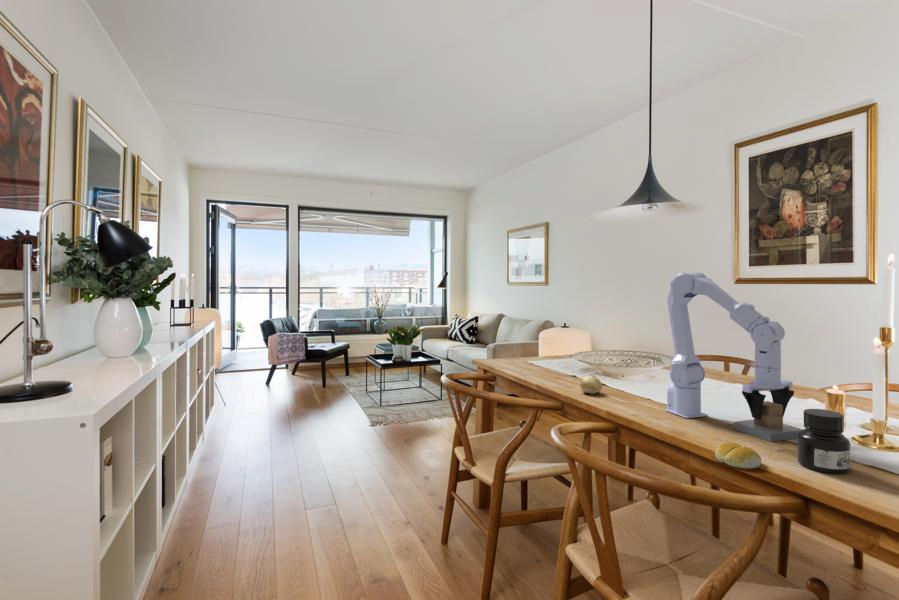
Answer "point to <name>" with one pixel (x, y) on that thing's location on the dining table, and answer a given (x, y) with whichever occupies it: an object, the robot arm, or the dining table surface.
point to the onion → (591, 385)
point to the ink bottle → (824, 442)
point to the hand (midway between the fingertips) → (767, 416)
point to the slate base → (767, 431)
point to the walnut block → (770, 416)
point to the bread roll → (737, 456)
